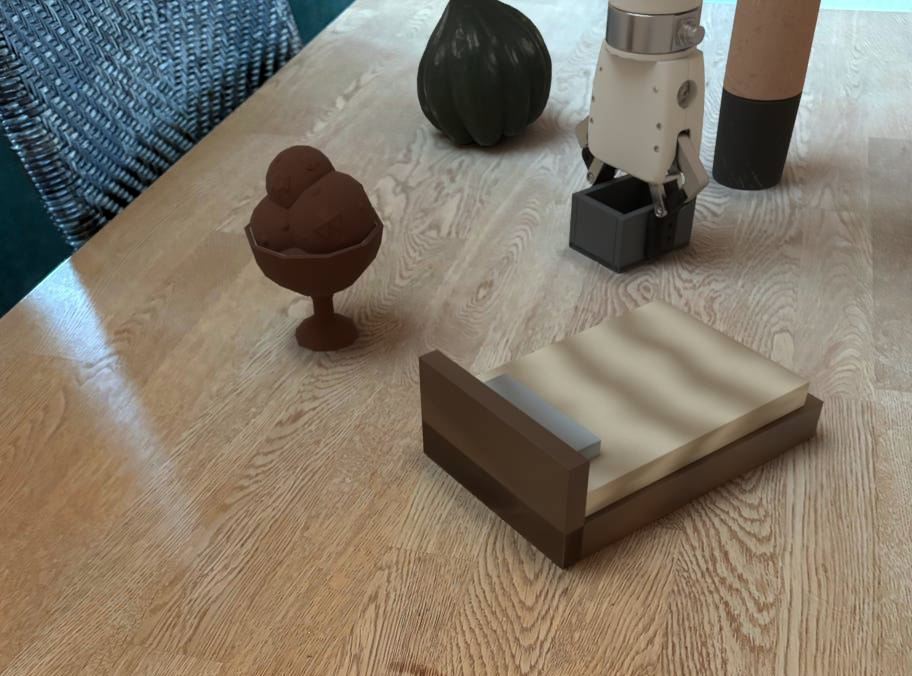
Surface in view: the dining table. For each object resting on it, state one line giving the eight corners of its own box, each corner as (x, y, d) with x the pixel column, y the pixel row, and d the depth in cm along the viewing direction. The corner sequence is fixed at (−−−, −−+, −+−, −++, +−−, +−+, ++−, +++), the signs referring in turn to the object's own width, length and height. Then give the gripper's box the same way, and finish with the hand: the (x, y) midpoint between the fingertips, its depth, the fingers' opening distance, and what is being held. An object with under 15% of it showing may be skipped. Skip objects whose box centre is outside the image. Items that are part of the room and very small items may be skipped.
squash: (594, 90, 110) (537, -50, 107) (482, 130, 105) (419, -16, 102) (532, 149, 123) (480, 26, 120) (430, 187, 118) (374, 60, 115)
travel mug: (707, 160, 109) (741, -61, 95) (780, 161, 108) (826, -62, 94) (710, 190, 104) (747, -39, 90) (787, 192, 103) (837, -39, 89)
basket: (638, 219, 100) (644, 167, 97) (689, 244, 96) (698, 191, 93) (568, 246, 97) (571, 193, 93) (618, 273, 93) (623, 219, 89)
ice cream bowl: (242, 358, 85) (206, 176, 74) (298, 294, 92) (273, 120, 81) (358, 378, 82) (339, 192, 72) (407, 311, 90) (397, 132, 79)
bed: (662, 345, 84) (675, 252, 78) (814, 436, 75) (842, 338, 69) (423, 452, 75) (418, 356, 70) (562, 569, 66) (570, 470, 60)
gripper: (765, 43, 80) (725, 260, 92) (615, -6, 90) (598, 197, 103) (695, 64, 77) (665, 286, 90) (548, 12, 87) (540, 218, 100)
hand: (629, 237), depth 96 cm, fingers closed on basket, 7 cm apart
